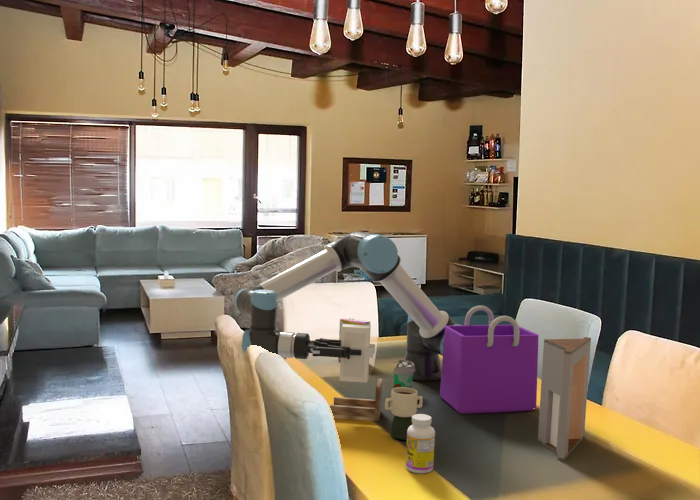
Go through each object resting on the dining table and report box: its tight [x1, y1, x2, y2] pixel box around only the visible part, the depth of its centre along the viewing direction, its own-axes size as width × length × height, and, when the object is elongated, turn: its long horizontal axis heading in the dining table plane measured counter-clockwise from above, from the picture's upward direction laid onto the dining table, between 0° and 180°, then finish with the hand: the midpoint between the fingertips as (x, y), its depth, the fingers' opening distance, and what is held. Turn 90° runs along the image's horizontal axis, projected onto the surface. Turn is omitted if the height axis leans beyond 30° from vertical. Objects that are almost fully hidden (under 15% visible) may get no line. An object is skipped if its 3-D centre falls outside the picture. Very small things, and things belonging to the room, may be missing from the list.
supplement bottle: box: [405, 413, 436, 475], centre depth 167 cm, size 7×7×13 cm
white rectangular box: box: [339, 324, 372, 384], centre depth 204 cm, size 8×4×16 cm, turn 83°
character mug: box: [384, 387, 424, 441], centre depth 187 cm, size 11×7×13 cm, turn 108°
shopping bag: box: [439, 305, 539, 415], centre depth 218 cm, size 28×22×30 cm
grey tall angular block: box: [537, 336, 592, 462], centre depth 186 cm, size 21×10×28 cm, turn 148°
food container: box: [393, 358, 415, 388], centre depth 227 cm, size 12×6×10 cm, turn 168°
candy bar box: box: [337, 317, 371, 362], centre depth 265 cm, size 11×5×16 cm, turn 58°
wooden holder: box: [329, 378, 383, 422], centre depth 205 cm, size 14×9×10 cm, turn 83°
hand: (373, 350), depth 203 cm, fingers closed on white rectangular box, 4 cm apart
